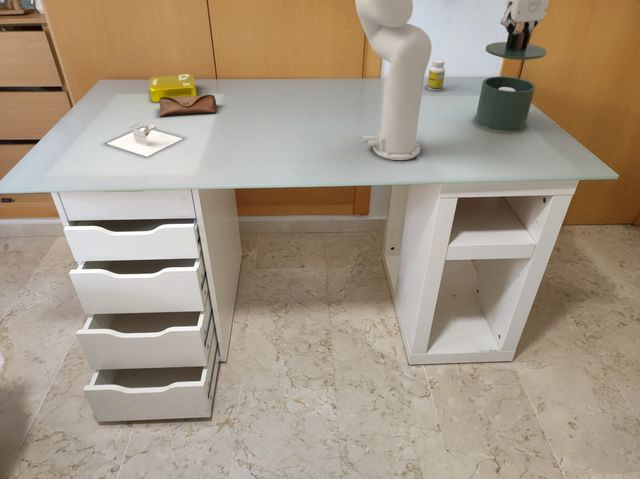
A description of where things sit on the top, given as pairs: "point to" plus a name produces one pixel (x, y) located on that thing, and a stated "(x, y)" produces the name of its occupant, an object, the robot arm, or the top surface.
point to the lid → (519, 53)
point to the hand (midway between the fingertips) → (515, 48)
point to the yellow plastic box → (172, 86)
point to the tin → (504, 103)
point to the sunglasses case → (187, 105)
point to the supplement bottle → (436, 75)
